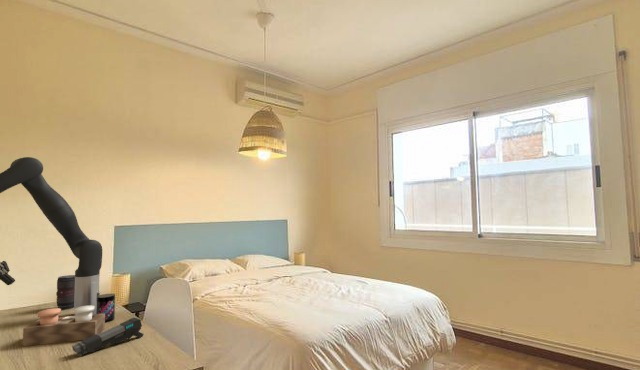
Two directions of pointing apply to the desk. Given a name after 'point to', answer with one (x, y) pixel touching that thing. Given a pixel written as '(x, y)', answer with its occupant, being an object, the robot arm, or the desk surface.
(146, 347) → the desk surface
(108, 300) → the supplement container
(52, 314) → the terracotta button
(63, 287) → the camera lens
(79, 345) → the gun
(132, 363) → the desk surface
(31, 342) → the console
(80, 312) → the white button
